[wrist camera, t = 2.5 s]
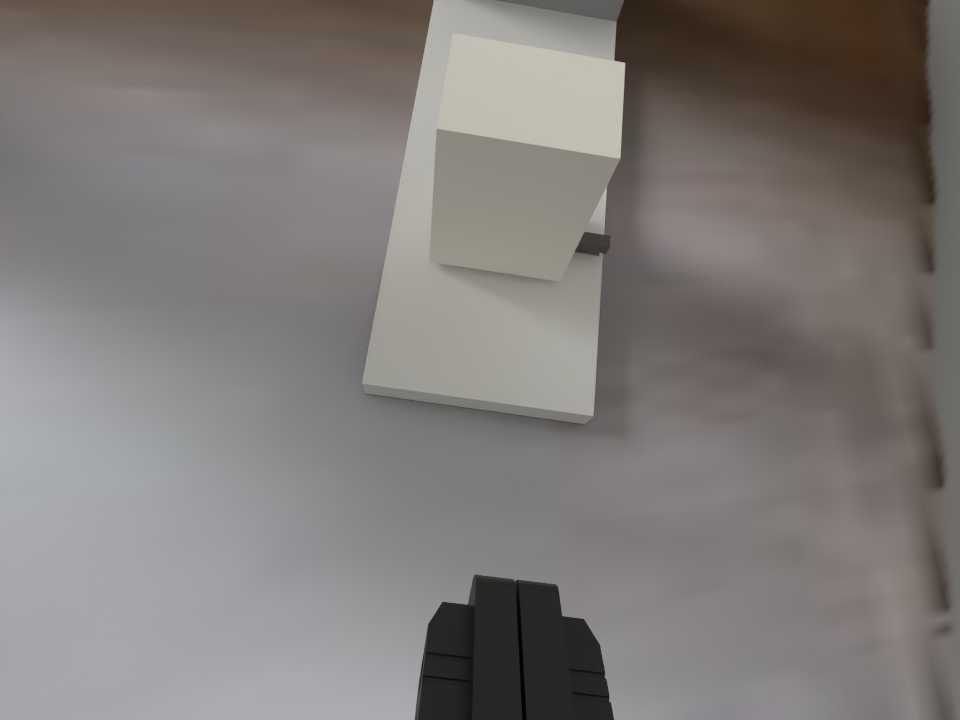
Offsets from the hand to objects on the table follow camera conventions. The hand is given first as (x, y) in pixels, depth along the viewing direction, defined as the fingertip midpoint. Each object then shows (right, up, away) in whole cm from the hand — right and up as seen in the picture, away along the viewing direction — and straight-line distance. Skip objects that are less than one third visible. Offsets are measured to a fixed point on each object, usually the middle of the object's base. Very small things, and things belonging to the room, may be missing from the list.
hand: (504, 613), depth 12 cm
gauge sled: (+1, +11, +18) cm, 21 cm away
